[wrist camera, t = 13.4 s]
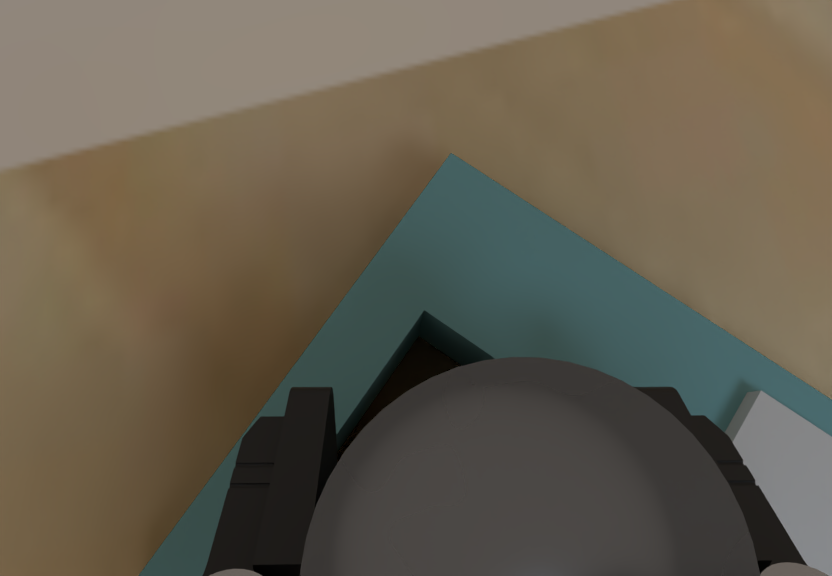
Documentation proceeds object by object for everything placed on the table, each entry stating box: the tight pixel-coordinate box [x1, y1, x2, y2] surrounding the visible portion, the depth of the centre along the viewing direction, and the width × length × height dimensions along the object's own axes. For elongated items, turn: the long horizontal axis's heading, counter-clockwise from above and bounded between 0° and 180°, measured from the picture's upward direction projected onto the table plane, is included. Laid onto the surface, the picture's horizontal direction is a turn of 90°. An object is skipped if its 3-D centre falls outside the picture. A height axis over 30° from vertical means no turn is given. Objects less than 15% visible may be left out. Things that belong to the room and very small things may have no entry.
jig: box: [139, 153, 832, 576], centre depth 16 cm, size 16×14×5 cm
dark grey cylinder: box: [300, 357, 760, 576], centre depth 12 cm, size 5×5×10 cm
